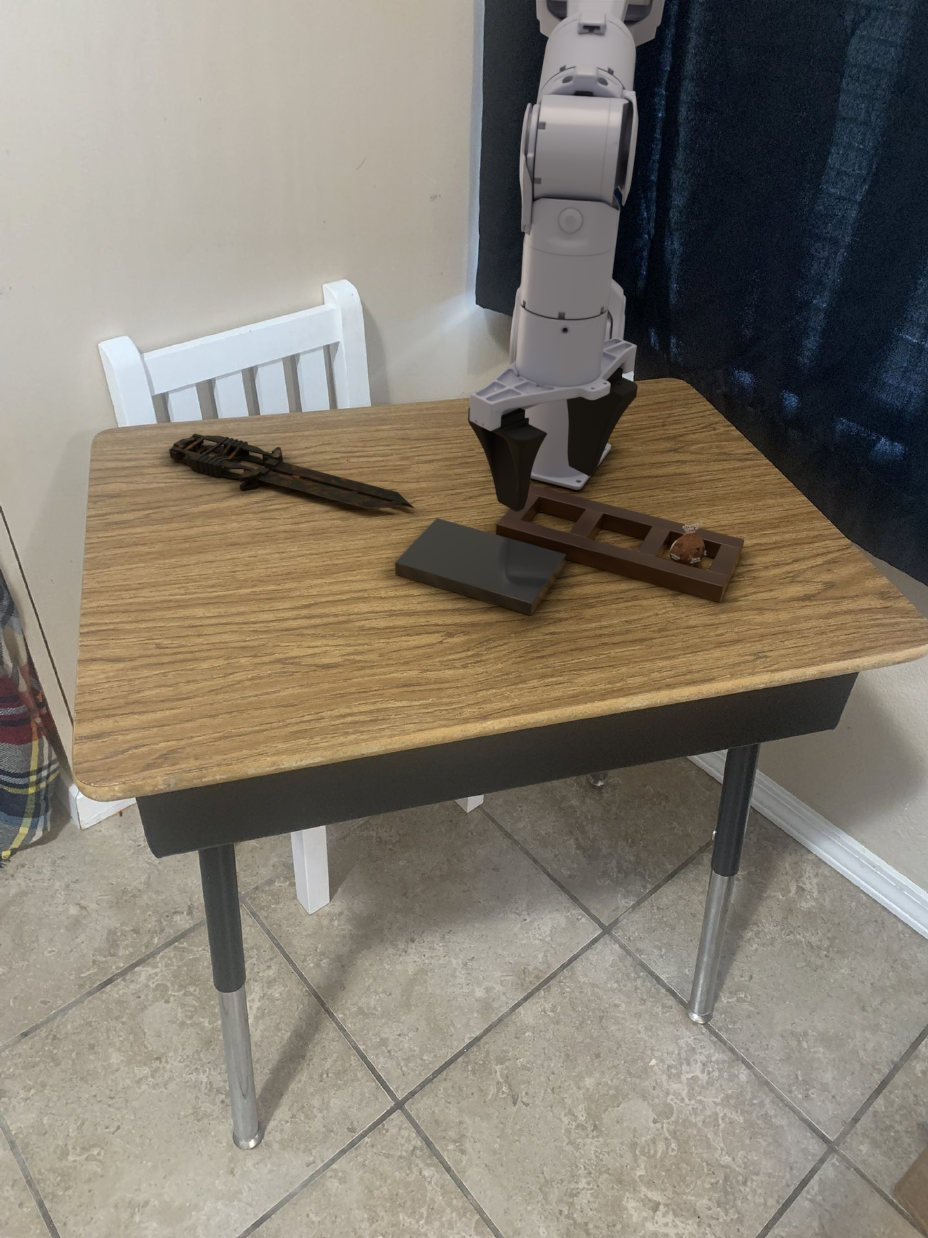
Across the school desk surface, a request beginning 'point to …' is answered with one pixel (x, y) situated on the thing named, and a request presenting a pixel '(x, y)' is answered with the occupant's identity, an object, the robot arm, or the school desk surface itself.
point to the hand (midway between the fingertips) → (547, 486)
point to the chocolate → (688, 547)
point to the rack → (615, 558)
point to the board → (481, 565)
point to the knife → (275, 464)
